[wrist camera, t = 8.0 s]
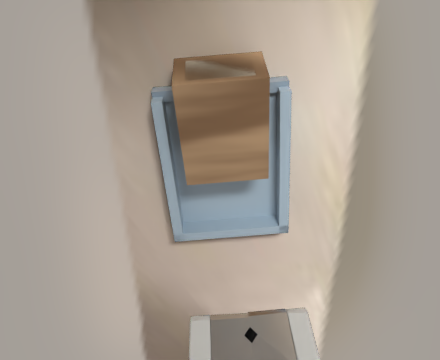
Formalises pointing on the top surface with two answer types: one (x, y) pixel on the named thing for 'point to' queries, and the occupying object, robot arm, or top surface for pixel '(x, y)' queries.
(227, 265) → the top surface
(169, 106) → the tray
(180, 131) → the wooden block
